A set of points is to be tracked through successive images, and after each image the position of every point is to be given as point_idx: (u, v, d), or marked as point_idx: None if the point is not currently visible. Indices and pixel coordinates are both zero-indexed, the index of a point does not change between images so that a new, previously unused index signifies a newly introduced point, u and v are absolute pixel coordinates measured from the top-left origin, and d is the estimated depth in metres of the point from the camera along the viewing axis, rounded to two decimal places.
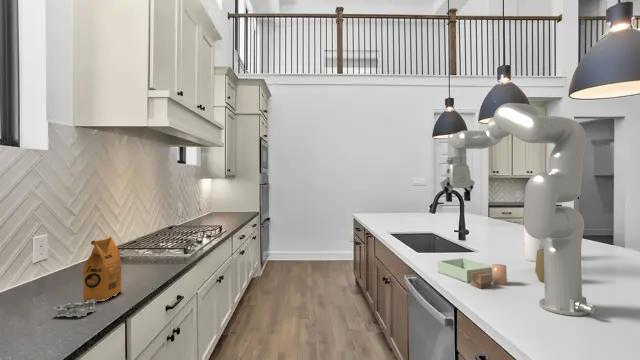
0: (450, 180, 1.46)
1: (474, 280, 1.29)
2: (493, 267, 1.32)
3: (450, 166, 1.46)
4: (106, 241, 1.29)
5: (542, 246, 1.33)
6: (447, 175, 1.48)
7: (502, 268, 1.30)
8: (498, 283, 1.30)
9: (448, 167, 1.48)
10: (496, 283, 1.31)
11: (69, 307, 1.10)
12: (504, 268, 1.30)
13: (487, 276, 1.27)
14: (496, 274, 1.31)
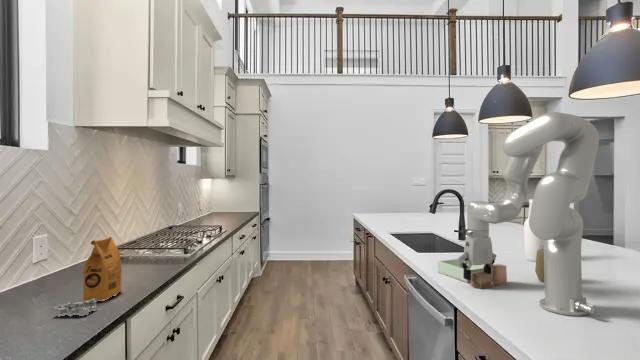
0: (469, 256, 1.27)
1: (474, 280, 1.29)
2: (493, 267, 1.32)
3: (470, 240, 1.28)
4: (106, 241, 1.29)
5: (542, 246, 1.33)
6: (466, 249, 1.29)
7: (502, 268, 1.30)
8: (498, 283, 1.31)
9: (467, 240, 1.29)
10: (496, 283, 1.31)
11: (70, 306, 1.11)
12: (504, 268, 1.30)
13: (487, 276, 1.27)
14: (496, 274, 1.31)
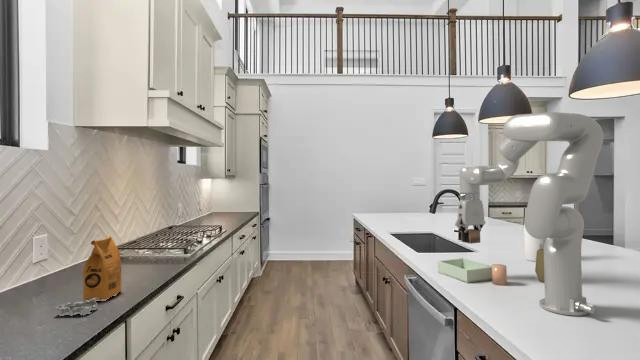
0: (462, 217, 1.38)
1: None
2: (493, 267, 1.32)
3: (462, 202, 1.38)
4: (106, 241, 1.29)
5: (542, 246, 1.33)
6: (459, 211, 1.40)
7: (502, 268, 1.30)
8: (498, 283, 1.30)
9: (460, 203, 1.40)
10: (496, 283, 1.31)
11: (71, 306, 1.11)
12: (504, 268, 1.30)
13: (476, 232, 1.39)
14: (496, 274, 1.31)
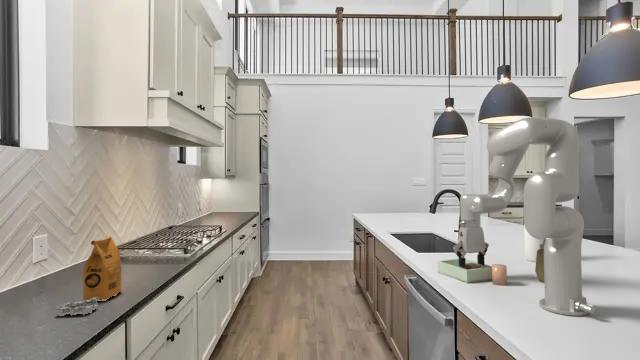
0: (463, 245, 1.38)
1: None
2: (493, 267, 1.32)
3: (463, 229, 1.38)
4: (106, 241, 1.29)
5: (542, 246, 1.33)
6: (460, 238, 1.40)
7: (502, 268, 1.30)
8: (498, 283, 1.30)
9: (461, 230, 1.40)
10: (496, 283, 1.31)
11: (72, 306, 1.12)
12: (504, 268, 1.30)
13: (477, 267, 1.39)
14: (496, 274, 1.31)
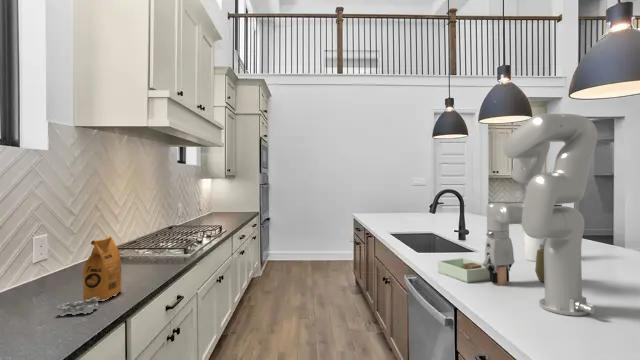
0: (491, 257, 1.30)
1: None
2: None
3: (491, 241, 1.30)
4: (106, 241, 1.29)
5: (542, 246, 1.33)
6: (487, 250, 1.31)
7: (502, 268, 1.30)
8: (498, 283, 1.30)
9: (488, 241, 1.31)
10: (496, 283, 1.31)
11: (72, 305, 1.12)
12: (504, 268, 1.30)
13: (477, 267, 1.39)
14: None
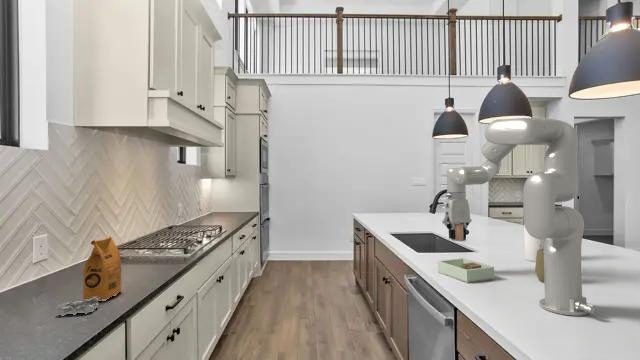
0: (449, 215, 1.45)
1: None
2: None
3: (449, 201, 1.46)
4: (106, 241, 1.29)
5: (542, 246, 1.33)
6: (446, 210, 1.47)
7: (459, 225, 1.46)
8: (456, 239, 1.46)
9: (447, 202, 1.47)
10: (454, 239, 1.47)
11: (73, 305, 1.12)
12: (461, 225, 1.46)
13: (477, 267, 1.39)
14: None
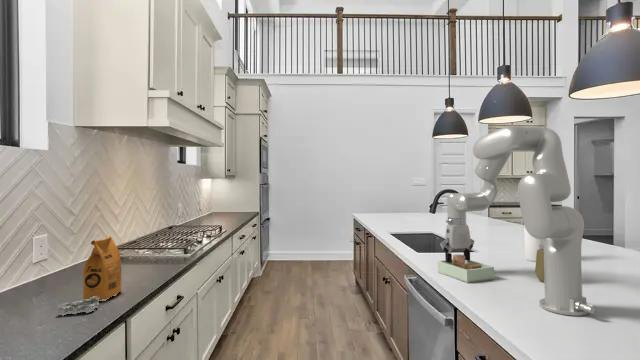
0: (450, 241, 1.45)
1: None
2: (453, 257, 1.48)
3: (450, 227, 1.46)
4: (106, 241, 1.29)
5: (542, 246, 1.33)
6: (447, 235, 1.47)
7: (461, 257, 1.46)
8: None
9: (448, 227, 1.47)
10: None
11: (73, 305, 1.12)
12: (463, 257, 1.46)
13: (477, 267, 1.39)
14: (456, 263, 1.46)
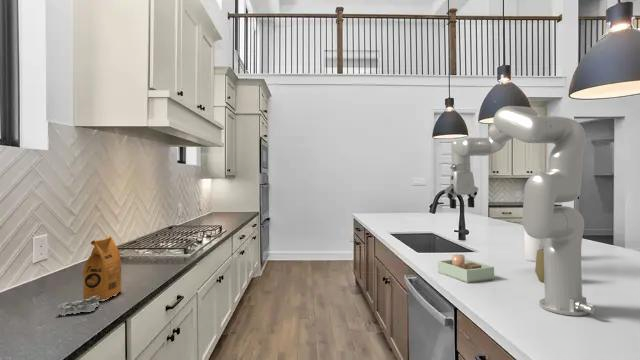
0: (454, 187, 1.46)
1: None
2: (453, 257, 1.48)
3: (454, 173, 1.47)
4: (106, 241, 1.29)
5: (542, 246, 1.33)
6: (451, 182, 1.48)
7: (461, 257, 1.46)
8: None
9: (452, 174, 1.48)
10: None
11: (73, 305, 1.12)
12: (463, 257, 1.46)
13: (477, 267, 1.39)
14: (456, 263, 1.46)
